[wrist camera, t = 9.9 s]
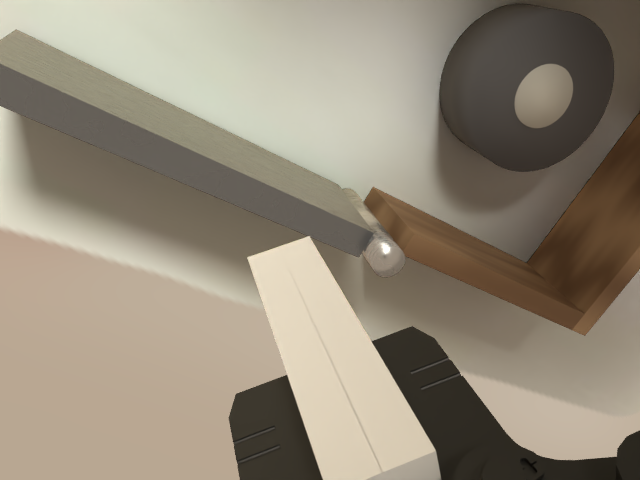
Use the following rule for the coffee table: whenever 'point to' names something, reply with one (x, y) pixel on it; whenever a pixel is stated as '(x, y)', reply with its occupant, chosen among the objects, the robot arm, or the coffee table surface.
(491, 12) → the coil
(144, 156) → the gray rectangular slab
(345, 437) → the robot arm
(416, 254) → the bay
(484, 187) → the coffee table surface
